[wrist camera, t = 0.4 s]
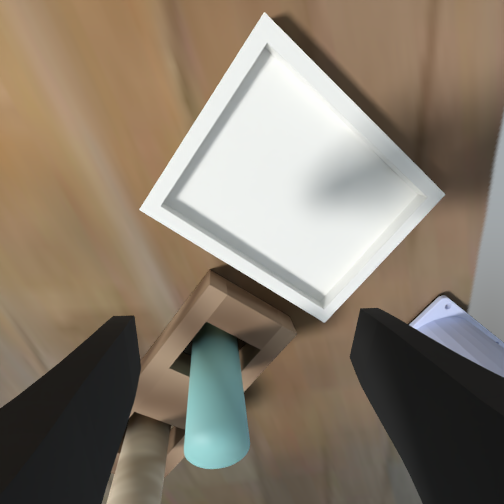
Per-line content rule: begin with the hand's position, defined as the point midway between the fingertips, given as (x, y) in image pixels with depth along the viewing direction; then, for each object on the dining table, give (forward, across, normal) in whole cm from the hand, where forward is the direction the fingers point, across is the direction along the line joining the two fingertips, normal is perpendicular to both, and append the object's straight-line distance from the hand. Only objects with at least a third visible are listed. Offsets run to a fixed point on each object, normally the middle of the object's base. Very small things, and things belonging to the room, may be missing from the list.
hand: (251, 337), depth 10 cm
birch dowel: (+10, +6, +16) cm, 20 cm away
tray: (+10, -4, -2) cm, 11 cm away
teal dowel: (+10, +1, +8) cm, 13 cm away
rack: (+10, +4, +12) cm, 16 cm away
